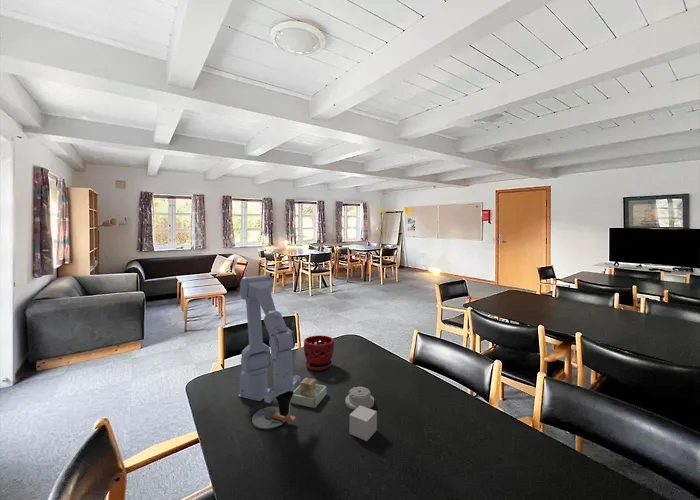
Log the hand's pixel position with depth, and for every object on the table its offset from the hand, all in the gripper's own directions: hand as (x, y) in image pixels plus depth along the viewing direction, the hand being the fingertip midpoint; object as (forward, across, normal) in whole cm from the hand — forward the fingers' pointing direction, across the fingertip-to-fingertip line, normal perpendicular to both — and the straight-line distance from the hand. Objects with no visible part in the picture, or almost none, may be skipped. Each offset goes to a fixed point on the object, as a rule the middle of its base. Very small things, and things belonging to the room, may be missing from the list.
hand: (284, 414), depth 98 cm
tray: (+3, +17, +3) cm, 17 cm away
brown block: (+3, +16, +3) cm, 17 cm away
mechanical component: (+4, +23, -14) cm, 27 cm away
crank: (+3, +1, +3) cm, 4 cm away
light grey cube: (+5, +9, -22) cm, 25 cm away
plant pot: (+3, +40, +14) cm, 43 cm away
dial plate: (+4, +1, +7) cm, 8 cm away
